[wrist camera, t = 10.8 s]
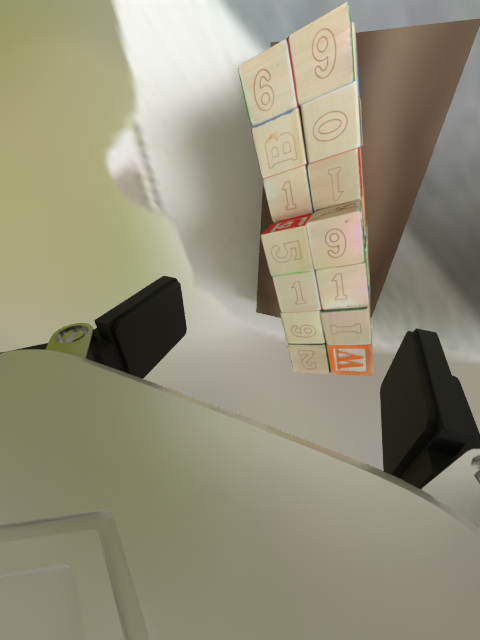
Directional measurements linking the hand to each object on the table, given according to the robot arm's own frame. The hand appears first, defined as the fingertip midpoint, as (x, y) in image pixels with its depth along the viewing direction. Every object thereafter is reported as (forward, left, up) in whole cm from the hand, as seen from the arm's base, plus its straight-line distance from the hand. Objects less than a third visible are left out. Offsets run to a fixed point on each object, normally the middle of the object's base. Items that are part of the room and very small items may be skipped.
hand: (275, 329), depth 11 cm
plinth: (0, 0, -24) cm, 24 cm away
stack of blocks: (0, -1, -20) cm, 20 cm away
